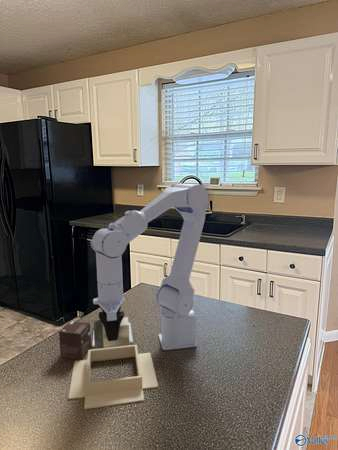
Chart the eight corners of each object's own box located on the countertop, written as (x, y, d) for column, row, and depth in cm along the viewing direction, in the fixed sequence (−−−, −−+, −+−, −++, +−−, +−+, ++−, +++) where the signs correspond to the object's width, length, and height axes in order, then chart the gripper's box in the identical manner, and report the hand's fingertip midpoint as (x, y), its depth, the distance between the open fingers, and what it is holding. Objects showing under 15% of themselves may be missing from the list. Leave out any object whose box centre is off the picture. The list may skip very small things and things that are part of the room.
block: (128, 335, 78) (127, 317, 78) (129, 344, 75) (128, 324, 74) (95, 339, 77) (94, 320, 76) (94, 348, 73) (93, 328, 72)
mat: (130, 324, 99) (130, 322, 99) (132, 343, 88) (132, 341, 88) (94, 327, 97) (93, 325, 96) (92, 347, 86) (92, 345, 86)
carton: (148, 346, 86) (148, 336, 86) (160, 398, 67) (160, 385, 66) (75, 354, 83) (75, 343, 82) (66, 411, 63) (65, 398, 63)
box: (81, 360, 80) (79, 334, 79) (60, 358, 81) (58, 331, 80) (92, 347, 86) (90, 322, 85) (71, 345, 87) (70, 320, 86)
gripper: (93, 271, 79) (96, 322, 82) (90, 294, 65) (94, 354, 68) (121, 269, 81) (123, 319, 83) (125, 291, 67) (127, 350, 69)
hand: (112, 334), depth 75 cm, fingers closed on block, 4 cm apart
